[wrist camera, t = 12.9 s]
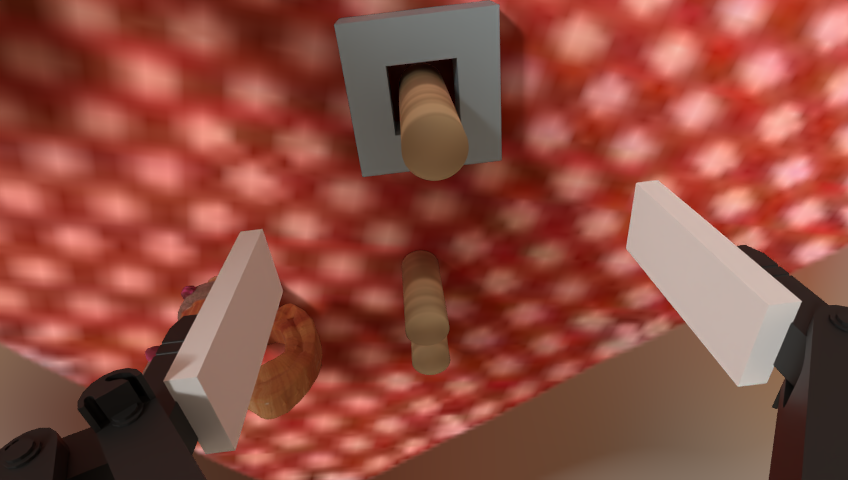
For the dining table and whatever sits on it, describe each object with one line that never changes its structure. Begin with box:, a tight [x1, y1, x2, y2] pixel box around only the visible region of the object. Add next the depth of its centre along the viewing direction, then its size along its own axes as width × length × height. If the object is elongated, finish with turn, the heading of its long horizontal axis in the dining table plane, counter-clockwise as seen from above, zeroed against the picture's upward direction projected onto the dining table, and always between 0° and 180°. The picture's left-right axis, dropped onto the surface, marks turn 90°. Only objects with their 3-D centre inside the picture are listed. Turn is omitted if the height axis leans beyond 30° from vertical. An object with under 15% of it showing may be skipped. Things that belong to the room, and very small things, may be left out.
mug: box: [143, 276, 322, 419], centre depth 40 cm, size 15×8×15 cm, turn 99°
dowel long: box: [398, 63, 469, 181], centre depth 31 cm, size 4×4×14 cm
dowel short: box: [411, 336, 450, 375], centre depth 47 cm, size 4×4×6 cm
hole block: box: [334, 0, 502, 177], centre depth 35 cm, size 11×11×4 cm
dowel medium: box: [402, 250, 449, 346], centre depth 42 cm, size 4×4×9 cm
